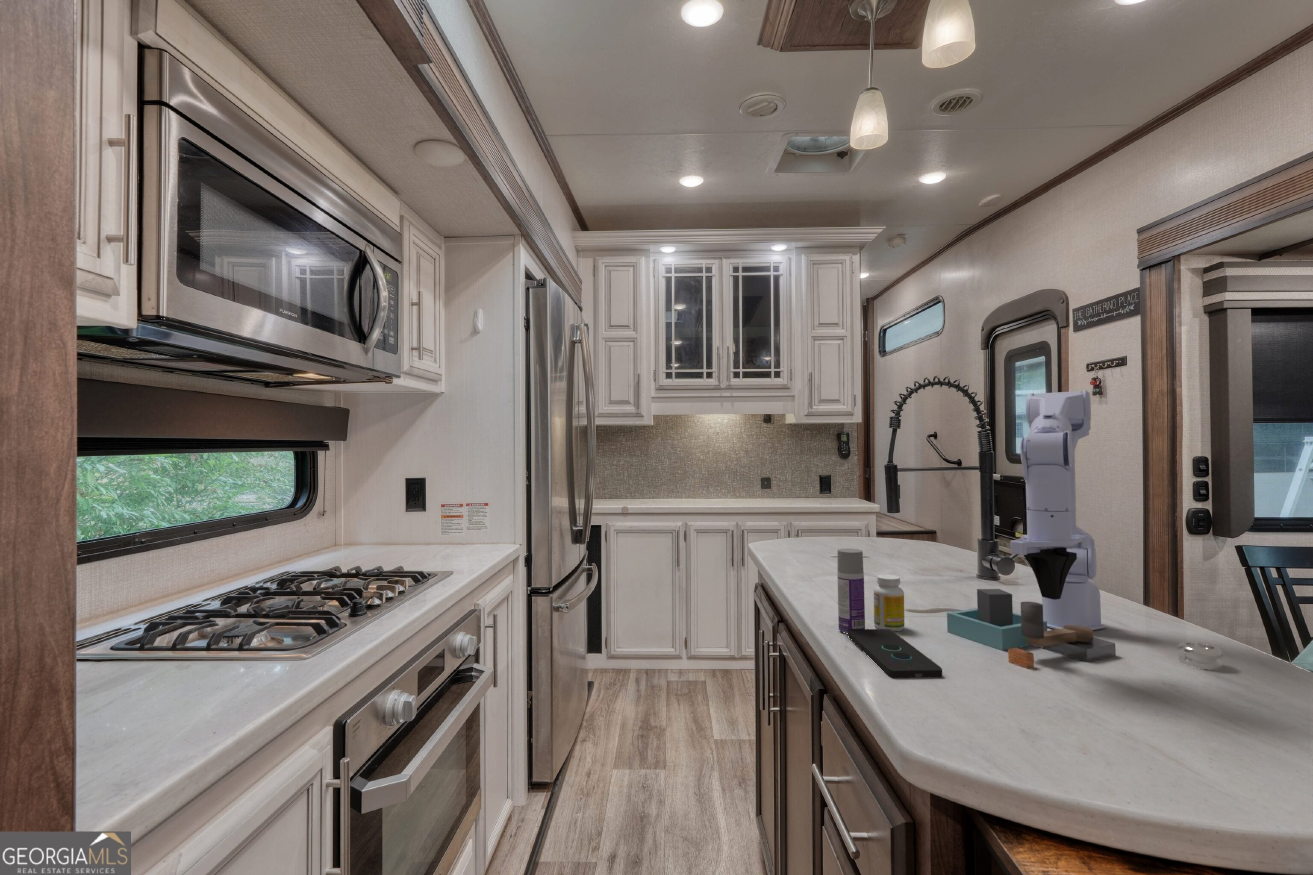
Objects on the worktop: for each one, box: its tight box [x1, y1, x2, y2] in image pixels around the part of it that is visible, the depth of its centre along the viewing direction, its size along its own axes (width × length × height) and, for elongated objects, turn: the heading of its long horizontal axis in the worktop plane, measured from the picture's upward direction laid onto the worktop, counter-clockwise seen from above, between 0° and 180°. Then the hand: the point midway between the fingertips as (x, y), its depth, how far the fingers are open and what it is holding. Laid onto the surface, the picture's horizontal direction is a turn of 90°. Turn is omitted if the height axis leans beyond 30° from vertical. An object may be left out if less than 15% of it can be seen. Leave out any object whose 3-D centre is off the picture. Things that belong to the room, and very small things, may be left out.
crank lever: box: [1020, 601, 1094, 648], centre depth 94 cm, size 14×4×6 cm, turn 108°
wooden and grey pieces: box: [1007, 636, 1117, 669], centre depth 94 cm, size 18×7×2 cm, turn 112°
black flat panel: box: [847, 628, 943, 679], centre depth 96 cm, size 8×2×20 cm
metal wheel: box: [1177, 641, 1224, 671], centre depth 90 cm, size 5×3×5 cm
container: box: [837, 548, 866, 633], centre depth 109 cm, size 5×5×15 cm
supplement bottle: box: [873, 574, 905, 632], centre depth 111 cm, size 5×5×10 cm
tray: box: [946, 607, 1048, 651], centre depth 104 cm, size 11×11×4 cm
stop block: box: [976, 588, 1014, 627], centre depth 104 cm, size 4×4×7 cm
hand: (1051, 597), depth 90 cm, fingers closed
